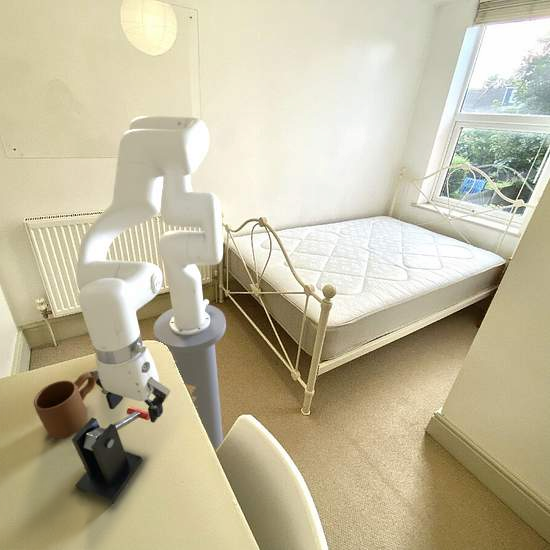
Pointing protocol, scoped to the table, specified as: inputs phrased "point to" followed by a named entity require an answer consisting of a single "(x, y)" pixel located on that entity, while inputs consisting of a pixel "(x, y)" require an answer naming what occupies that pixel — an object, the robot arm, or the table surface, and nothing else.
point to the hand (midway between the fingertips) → (136, 409)
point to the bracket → (104, 463)
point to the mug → (63, 406)
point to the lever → (97, 432)
